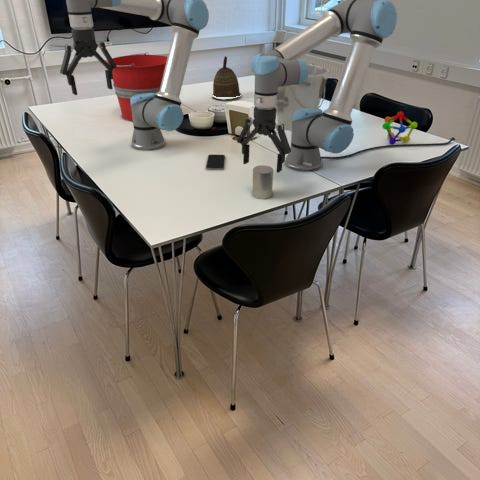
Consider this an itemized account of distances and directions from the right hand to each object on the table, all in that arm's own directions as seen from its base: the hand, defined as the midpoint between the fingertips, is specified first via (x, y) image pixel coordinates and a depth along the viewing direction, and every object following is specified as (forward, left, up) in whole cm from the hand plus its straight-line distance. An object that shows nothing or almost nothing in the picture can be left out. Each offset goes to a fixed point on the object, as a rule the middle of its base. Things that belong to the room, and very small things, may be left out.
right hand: (262, 167), depth 157 cm
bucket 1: (-4, -117, -11) cm, 118 cm away
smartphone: (-1, -36, -11) cm, 37 cm away
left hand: (+41, -52, +21) cm, 69 cm away
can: (0, 0, -11) cm, 11 cm away
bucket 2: (-63, -57, -11) cm, 86 cm away
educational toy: (-86, -10, -11) cm, 87 cm away
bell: (-63, -126, -11) cm, 141 cm away
